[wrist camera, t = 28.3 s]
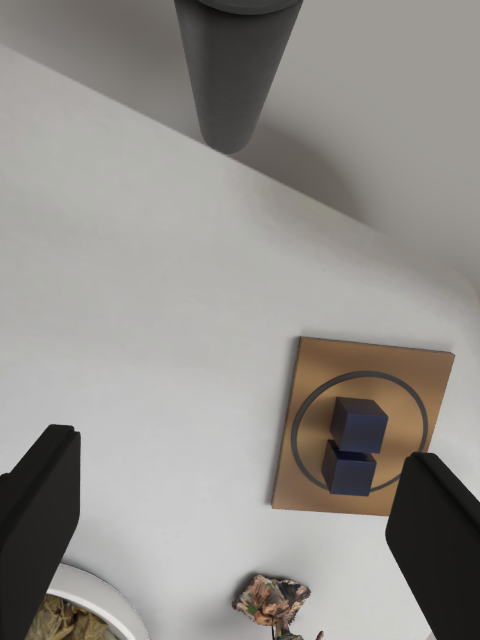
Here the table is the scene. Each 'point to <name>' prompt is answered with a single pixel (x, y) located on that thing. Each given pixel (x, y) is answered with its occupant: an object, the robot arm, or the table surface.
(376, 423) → the dark blue cube
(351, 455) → the dark blue block
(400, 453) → the board
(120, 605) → the bowl
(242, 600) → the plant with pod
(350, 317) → the table surface
